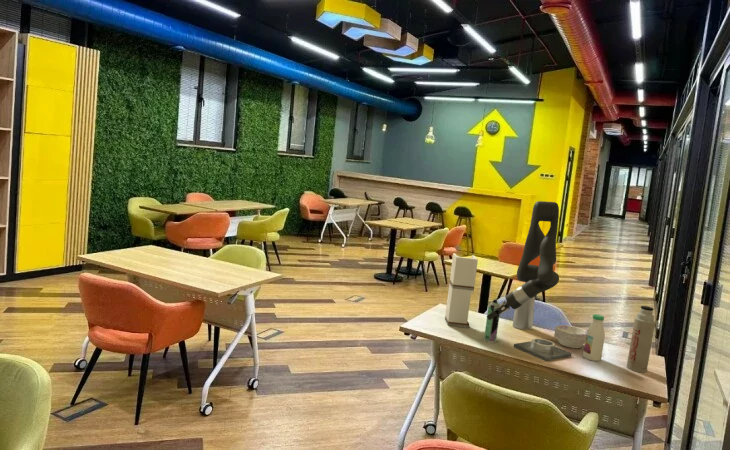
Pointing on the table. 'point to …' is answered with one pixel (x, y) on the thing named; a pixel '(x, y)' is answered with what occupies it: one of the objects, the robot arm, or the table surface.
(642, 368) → the thermos bottle
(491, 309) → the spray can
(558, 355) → the collar plate
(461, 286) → the banded white pillar
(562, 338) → the paper bowls
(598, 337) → the milk bottle
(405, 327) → the table surface
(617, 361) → the table surface
